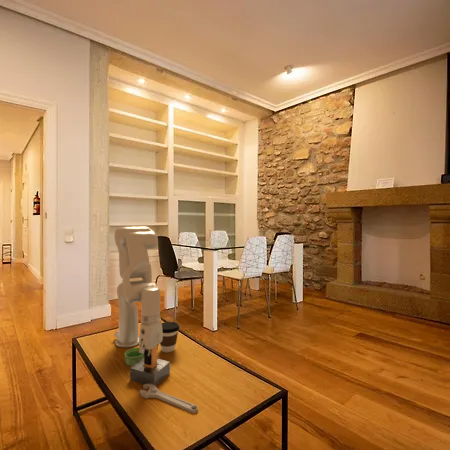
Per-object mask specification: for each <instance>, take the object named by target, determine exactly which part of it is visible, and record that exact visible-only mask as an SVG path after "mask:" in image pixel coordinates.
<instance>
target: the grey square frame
mask: <svg viewBox="0 0 450 450" xmlns="http://www.w3.org/2000/svg"><path fill="white" fill-rule="evenodd" d="M170 369H171V361H167V360H164V359H161V358H157V366H155V367H154V368H153V369H152V368H148V367H145V364H144V359H142V360H141V361H140V362H138V363H137V364H135V365H134V366H130V369H129V371H130V372H129V377H130V381H132V382H136V383H139V384H141V385H144V384H154V385H155V386H156V387H157V386H158V384H160V383H161V382H162V381H163V380H164V379H165V378H167V377H168V376H169V375H170V374H171V373H170V372H171V370H170Z"/></svg>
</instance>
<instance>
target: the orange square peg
mask: <svg viewBox="0 0 450 450" xmlns="http://www.w3.org/2000/svg"><path fill="white" fill-rule="evenodd" d="M146 351H148V350H147V349H146ZM150 355H151V365H147V364H145V367H148V368H152V369H153V368H154V367H155V366H157V359H158V350H157V345H156V346H155V347H154V348H152V349H151V353H150Z"/></svg>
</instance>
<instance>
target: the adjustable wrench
mask: <svg viewBox="0 0 450 450" xmlns="http://www.w3.org/2000/svg"><path fill="white" fill-rule="evenodd" d="M142 385H143V387H142V389H139V395H140V396H141V397H142V398H144V399H152V398H155V399H159V400H161V401H163V402H166V403H168V404H170V405H173V406H175V407H177V408H180V409H183V410H185V411H187V412H189V413H191V414H196V413H198V412H199V406H198V405H196V404H193V403H191V402H188V401H186V400H184V399H181V398H178V397H175V396H173V395H170V394H168V393H166V392H163V391H161V390H160V389H158V388H157V385H156V386H155V385H154V384H142Z"/></svg>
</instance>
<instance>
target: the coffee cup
mask: <svg viewBox="0 0 450 450" xmlns="http://www.w3.org/2000/svg"><path fill="white" fill-rule="evenodd" d="M162 330H163V340H162V342H161V343H159V344H160V349H161V351H162V352H163V353H171V352H174V350H175V349H176V345H177V341H178V334H179V331H180V325H179V323H177V322H174V321H165V322H162Z"/></svg>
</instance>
